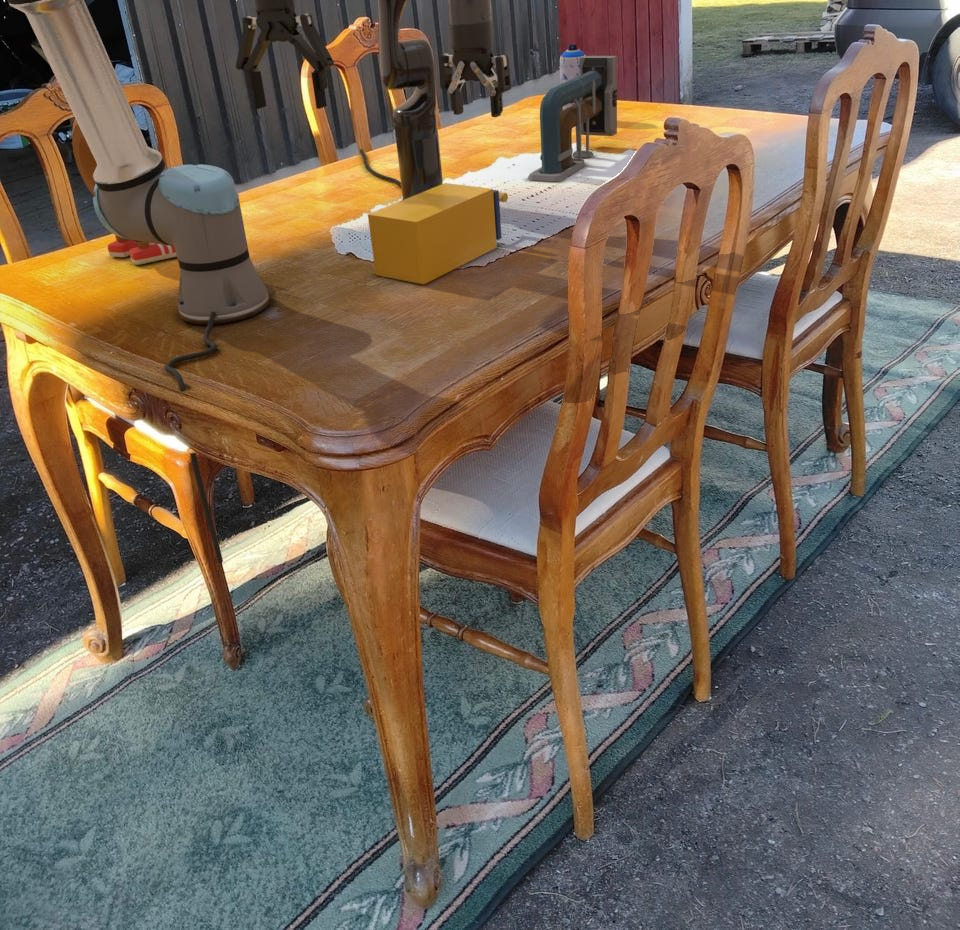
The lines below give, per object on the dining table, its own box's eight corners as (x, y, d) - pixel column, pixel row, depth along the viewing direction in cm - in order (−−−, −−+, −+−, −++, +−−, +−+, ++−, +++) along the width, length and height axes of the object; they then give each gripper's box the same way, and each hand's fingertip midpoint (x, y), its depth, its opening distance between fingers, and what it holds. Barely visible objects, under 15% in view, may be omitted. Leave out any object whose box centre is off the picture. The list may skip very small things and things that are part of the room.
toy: (194, 256, 192) (157, 98, 177) (148, 271, 186) (106, 109, 171) (139, 239, 206) (100, 90, 190) (95, 253, 199) (51, 100, 184)
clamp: (559, 181, 220) (556, 82, 210) (525, 179, 224) (520, 82, 214) (617, 145, 246) (616, 55, 235) (585, 144, 250) (583, 55, 239)
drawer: (479, 222, 195) (475, 177, 190) (520, 229, 190) (517, 181, 185) (391, 263, 177) (385, 214, 172) (434, 271, 172) (428, 220, 167)
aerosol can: (559, 122, 275) (557, 47, 265) (562, 117, 282) (559, 42, 272) (587, 121, 274) (585, 45, 263) (589, 115, 280) (587, 41, 270)
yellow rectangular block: (450, 240, 190) (445, 182, 184) (497, 247, 184) (493, 188, 178) (375, 275, 175) (367, 214, 170) (423, 284, 169) (416, 221, 164)
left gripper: (341, -19, 176) (356, 103, 187) (226, -13, 185) (247, 103, 195) (321, -15, 170) (338, 111, 181) (203, -9, 179) (226, 111, 190)
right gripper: (516, 16, 169) (520, 113, 177) (450, 16, 176) (458, 108, 184) (491, 22, 164) (497, 122, 172) (425, 22, 171) (434, 117, 179)
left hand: (291, 107), depth 188 cm, fingers open, 13 cm apart
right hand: (477, 115), depth 178 cm, fingers open, 8 cm apart
